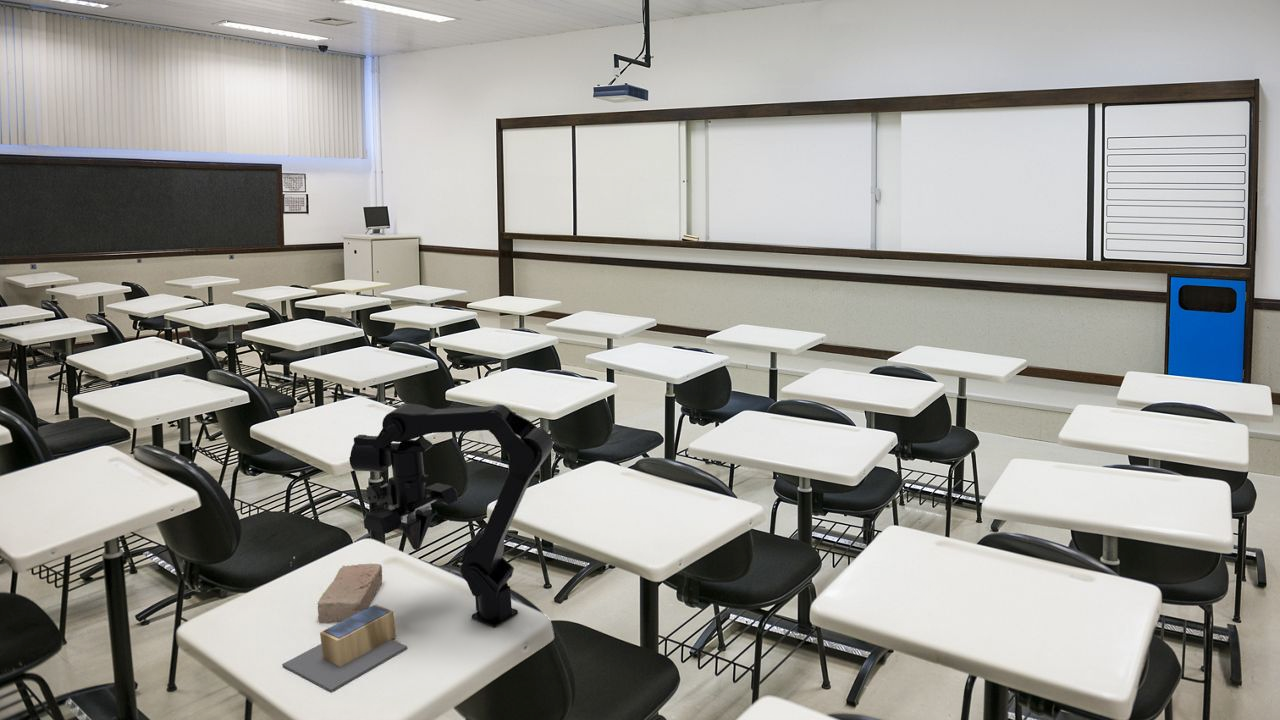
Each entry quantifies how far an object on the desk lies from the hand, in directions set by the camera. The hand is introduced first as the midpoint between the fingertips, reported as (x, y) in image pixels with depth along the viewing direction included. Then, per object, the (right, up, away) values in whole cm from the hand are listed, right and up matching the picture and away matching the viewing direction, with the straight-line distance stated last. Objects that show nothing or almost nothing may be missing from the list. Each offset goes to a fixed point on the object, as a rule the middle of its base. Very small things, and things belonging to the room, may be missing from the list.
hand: (416, 548), depth 174 cm
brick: (-15, -13, +7) cm, 21 cm away
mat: (-9, -17, -13) cm, 23 cm away
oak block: (-4, -12, -6) cm, 14 cm away
